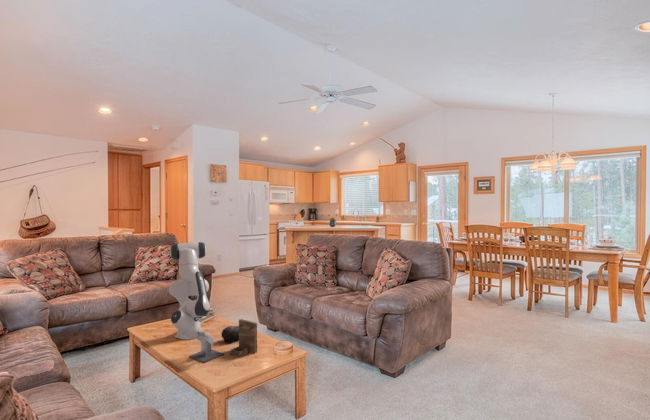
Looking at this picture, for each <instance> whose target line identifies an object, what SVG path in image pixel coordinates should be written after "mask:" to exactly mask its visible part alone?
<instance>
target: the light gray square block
mask: <svg viewBox="0 0 650 420" xmlns="http://www.w3.org/2000/svg"><path fill="white" fill-rule="evenodd" d="M200 343H201V345H200V346H201V351H200V352H201V355H203V356H205V357H206V356H209V355H211V349H212V345H210V344H209V343H206V342H203V341H200Z"/></svg>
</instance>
